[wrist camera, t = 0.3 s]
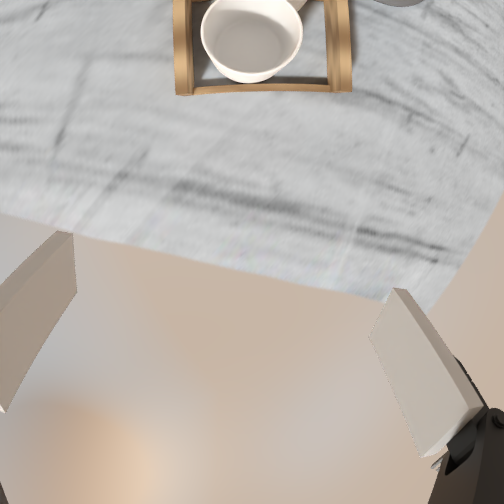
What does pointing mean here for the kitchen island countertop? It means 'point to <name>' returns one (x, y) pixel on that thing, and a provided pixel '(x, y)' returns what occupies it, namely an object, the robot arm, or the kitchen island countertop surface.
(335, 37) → the caddy
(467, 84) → the kitchen island countertop surface
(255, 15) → the mug
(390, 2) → the coaster
